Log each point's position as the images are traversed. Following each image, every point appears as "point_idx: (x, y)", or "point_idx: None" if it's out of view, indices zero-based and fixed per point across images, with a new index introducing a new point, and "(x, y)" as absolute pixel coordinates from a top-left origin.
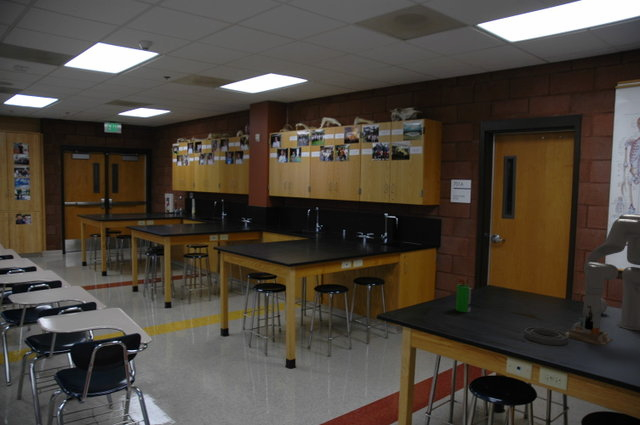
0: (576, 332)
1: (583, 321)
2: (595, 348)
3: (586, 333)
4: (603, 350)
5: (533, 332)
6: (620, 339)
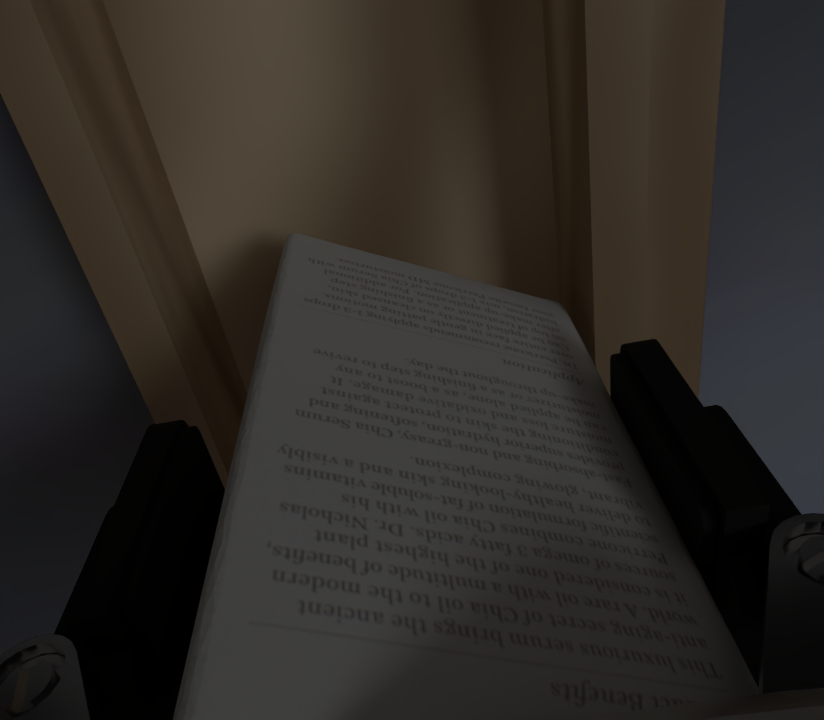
0: (66, 199)
1: (248, 410)
2: (3, 555)
3: (157, 408)
4: (51, 621)
5: None
6: (816, 500)
